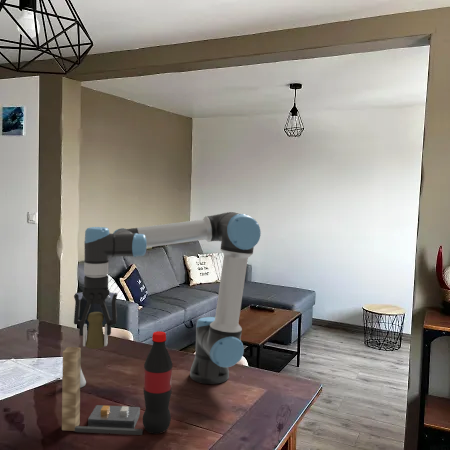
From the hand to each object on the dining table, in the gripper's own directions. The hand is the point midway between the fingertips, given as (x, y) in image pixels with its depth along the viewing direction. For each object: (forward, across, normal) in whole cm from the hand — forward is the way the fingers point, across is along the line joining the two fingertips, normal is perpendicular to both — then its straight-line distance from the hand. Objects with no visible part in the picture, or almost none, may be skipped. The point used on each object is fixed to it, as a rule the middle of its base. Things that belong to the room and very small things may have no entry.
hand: (95, 344), depth 155 cm
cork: (0, 0, 0) cm, 0 cm away
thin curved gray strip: (+21, -6, +17) cm, 28 cm away
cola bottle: (+21, -20, +16) cm, 33 cm away
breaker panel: (+21, -7, +10) cm, 24 cm away
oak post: (+21, +5, +14) cm, 25 cm away
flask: (+21, +9, -16) cm, 28 cm away
